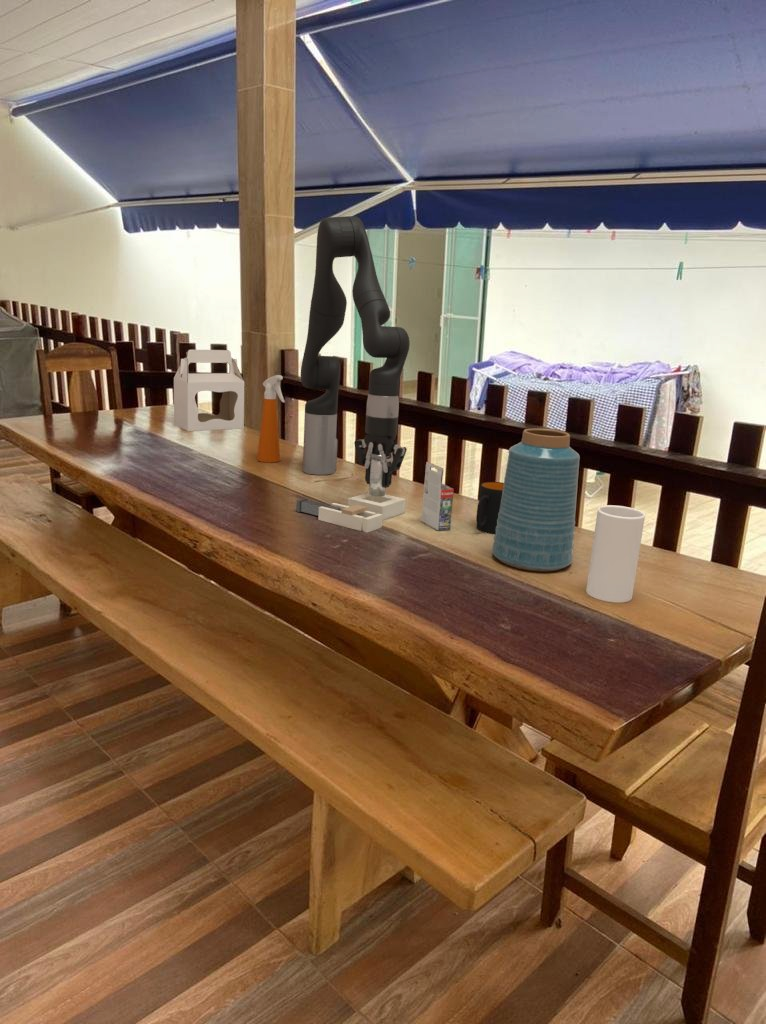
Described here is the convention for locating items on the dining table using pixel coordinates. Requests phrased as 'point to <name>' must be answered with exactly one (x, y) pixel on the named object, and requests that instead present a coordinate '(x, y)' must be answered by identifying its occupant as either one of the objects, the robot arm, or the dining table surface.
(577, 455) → the vase
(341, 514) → the pin guide
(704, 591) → the dining table surface
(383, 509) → the socket block
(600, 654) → the dining table surface
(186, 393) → the gable box
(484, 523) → the mug
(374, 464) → the salt shaker
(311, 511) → the pin
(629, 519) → the cup
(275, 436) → the spray bottle
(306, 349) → the robot arm
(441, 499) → the ink box
